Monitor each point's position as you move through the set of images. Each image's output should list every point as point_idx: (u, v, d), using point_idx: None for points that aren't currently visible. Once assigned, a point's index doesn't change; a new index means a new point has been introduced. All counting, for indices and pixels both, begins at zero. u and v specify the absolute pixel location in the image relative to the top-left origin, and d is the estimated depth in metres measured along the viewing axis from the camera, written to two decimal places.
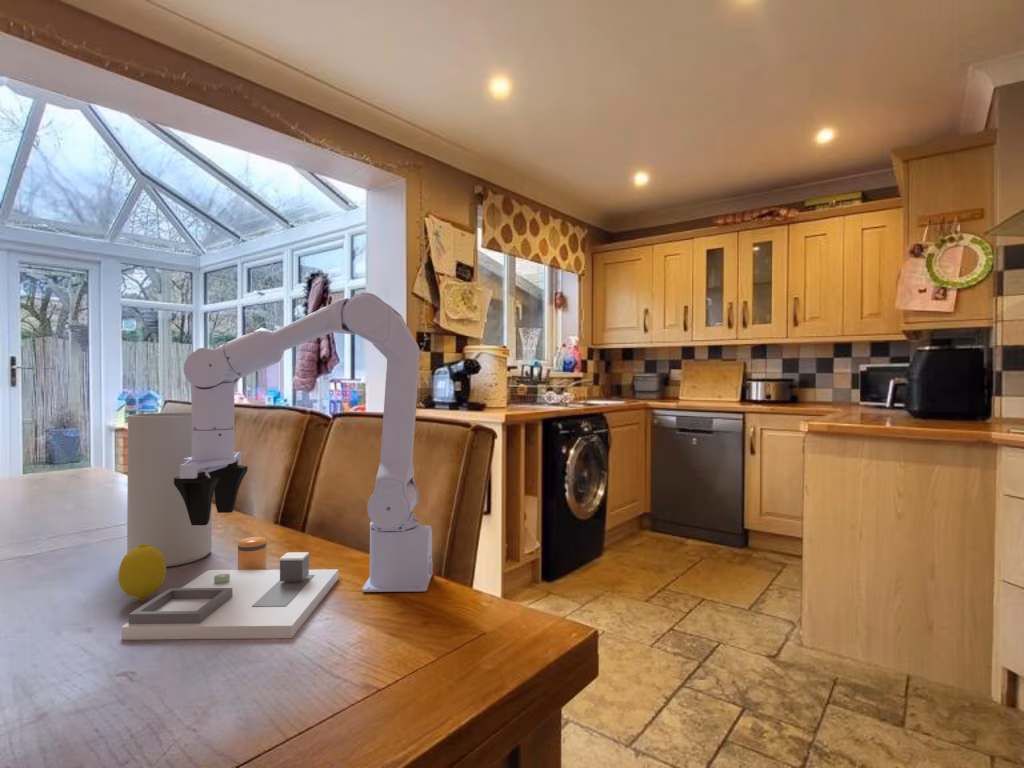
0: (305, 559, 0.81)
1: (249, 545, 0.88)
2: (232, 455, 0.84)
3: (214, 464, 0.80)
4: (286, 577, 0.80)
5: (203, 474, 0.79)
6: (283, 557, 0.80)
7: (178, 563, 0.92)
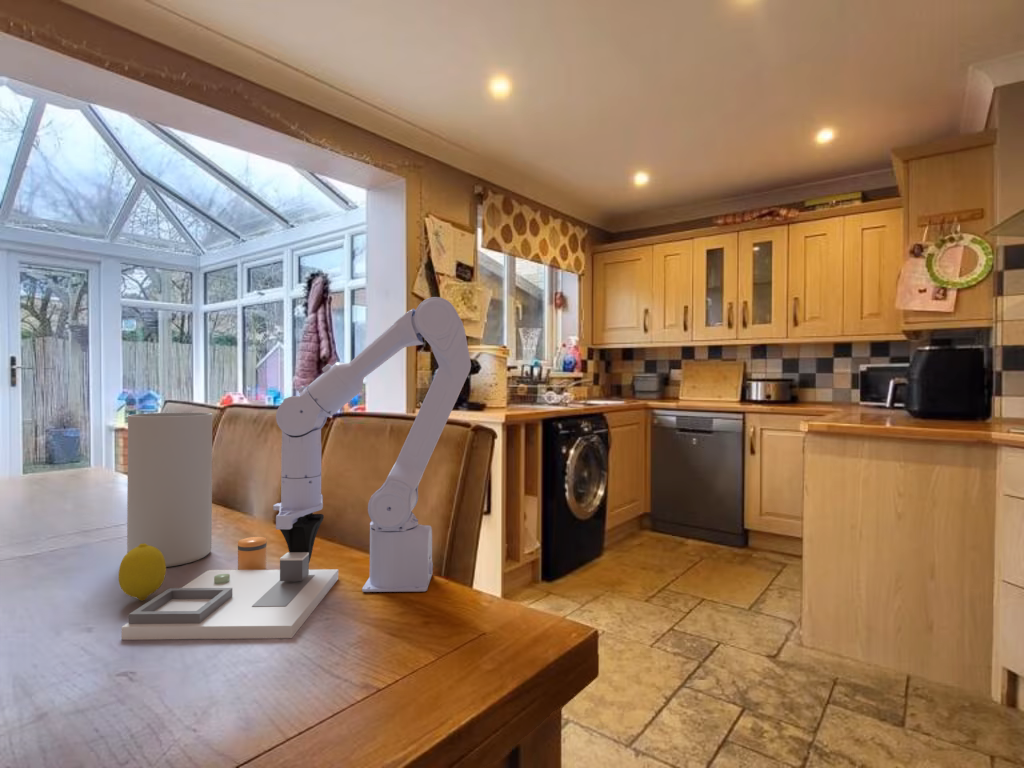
0: (305, 559, 0.81)
1: (249, 545, 0.88)
2: (320, 501, 0.84)
3: (306, 513, 0.80)
4: (286, 577, 0.80)
5: (304, 517, 0.83)
6: (283, 557, 0.80)
7: (178, 563, 0.92)
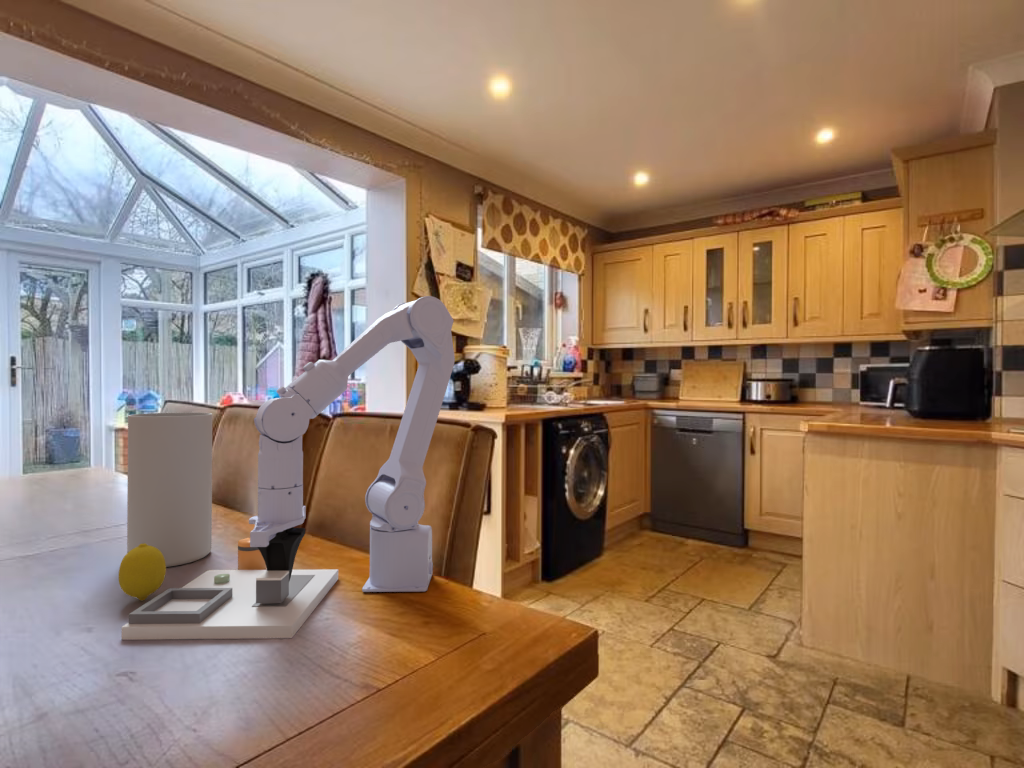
0: (284, 578, 0.73)
1: (249, 545, 0.88)
2: (301, 514, 0.76)
3: (285, 527, 0.72)
4: (263, 599, 0.72)
5: (284, 532, 0.75)
6: (260, 577, 0.72)
7: (178, 563, 0.92)
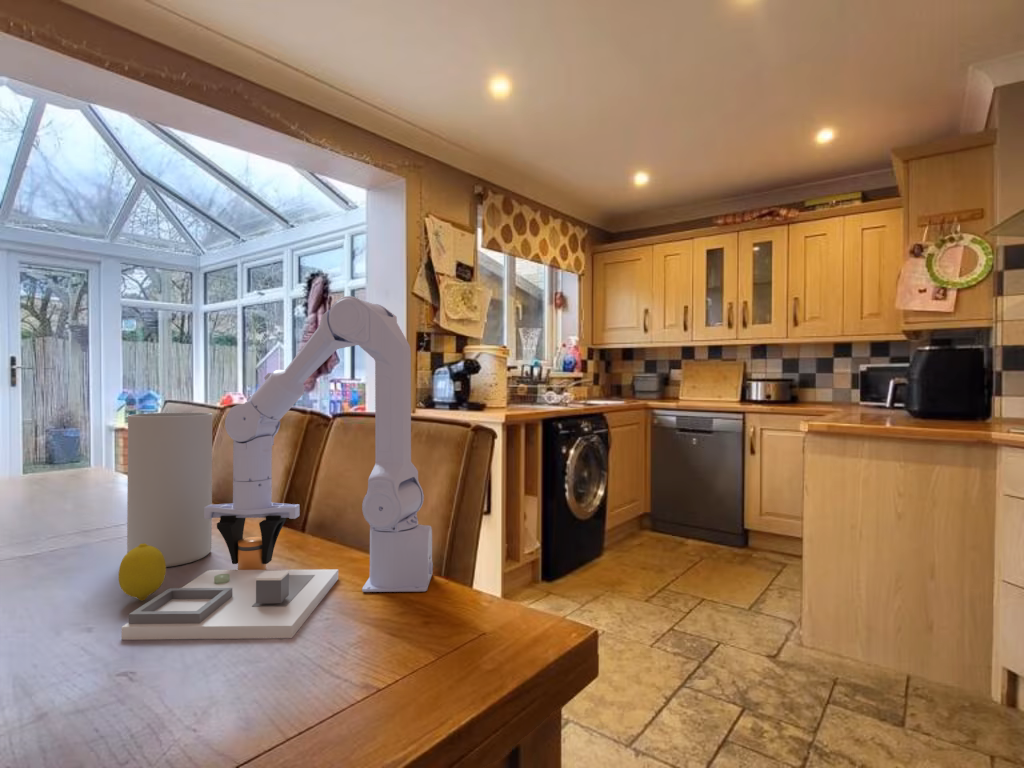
0: (284, 578, 0.73)
1: (249, 545, 0.88)
2: (245, 507, 0.87)
3: (224, 511, 0.88)
4: (263, 599, 0.72)
5: (231, 517, 0.89)
6: (260, 577, 0.72)
7: (178, 563, 0.92)
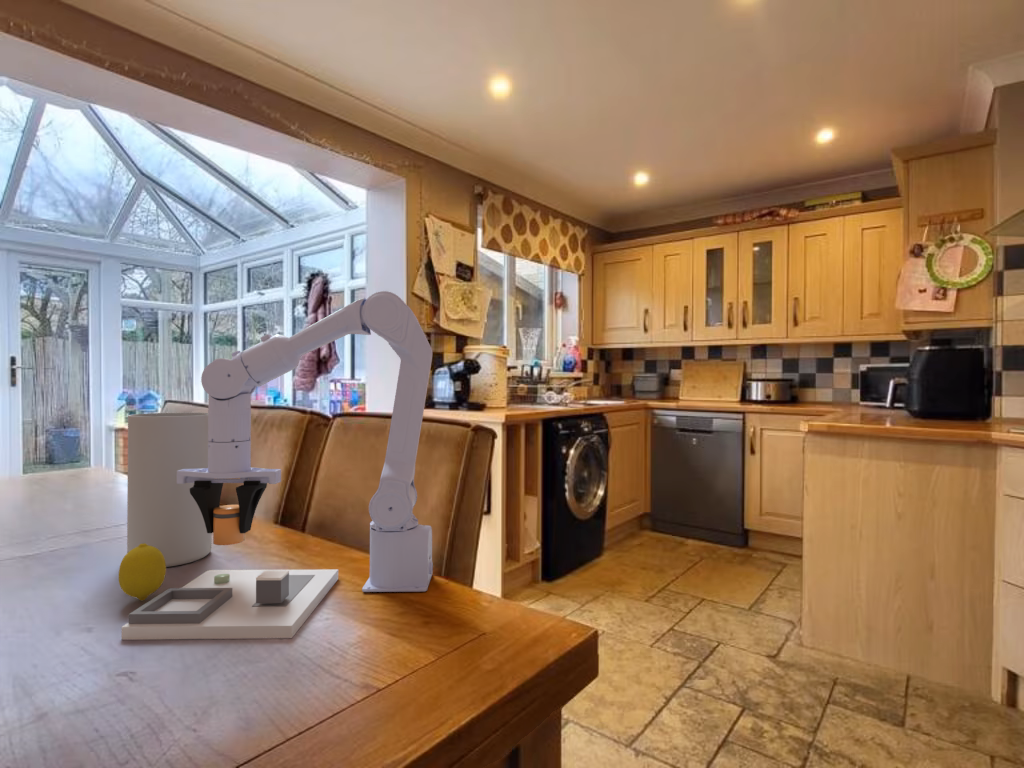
0: (284, 578, 0.73)
1: (225, 512, 0.80)
2: (220, 470, 0.79)
3: (198, 475, 0.80)
4: (263, 599, 0.72)
5: (205, 482, 0.81)
6: (260, 577, 0.72)
7: (178, 563, 0.92)
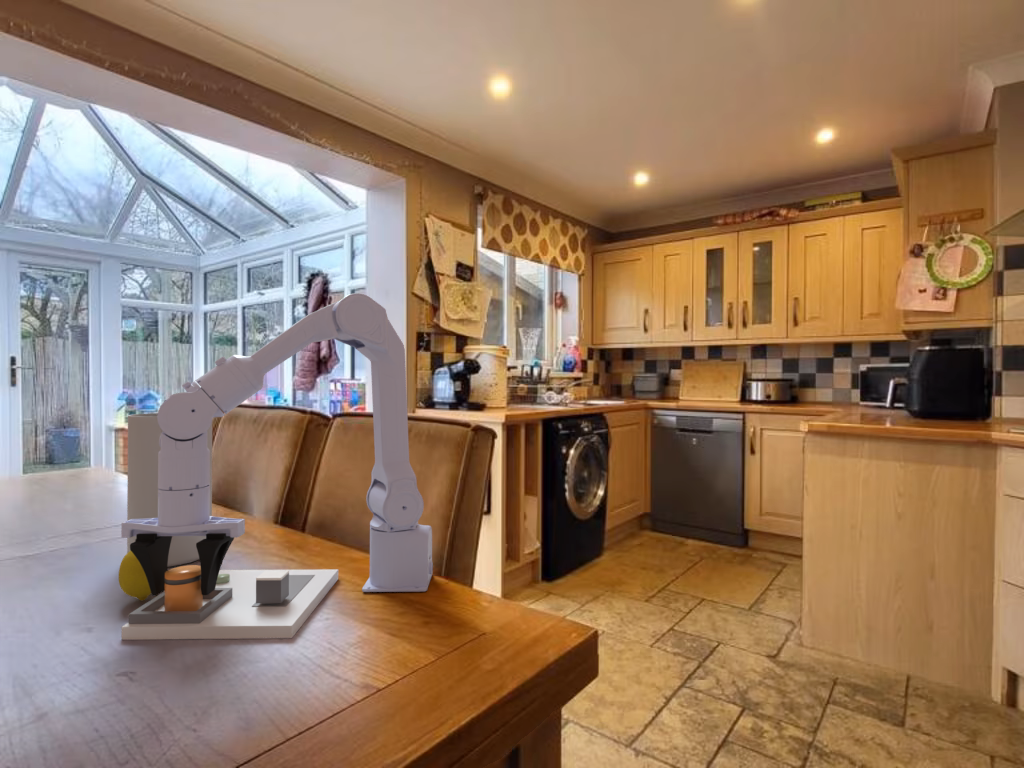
0: (284, 578, 0.73)
1: (178, 577, 0.69)
2: (171, 523, 0.68)
3: (146, 528, 0.69)
4: (263, 599, 0.72)
5: (150, 536, 0.70)
6: (260, 577, 0.72)
7: (178, 563, 0.92)
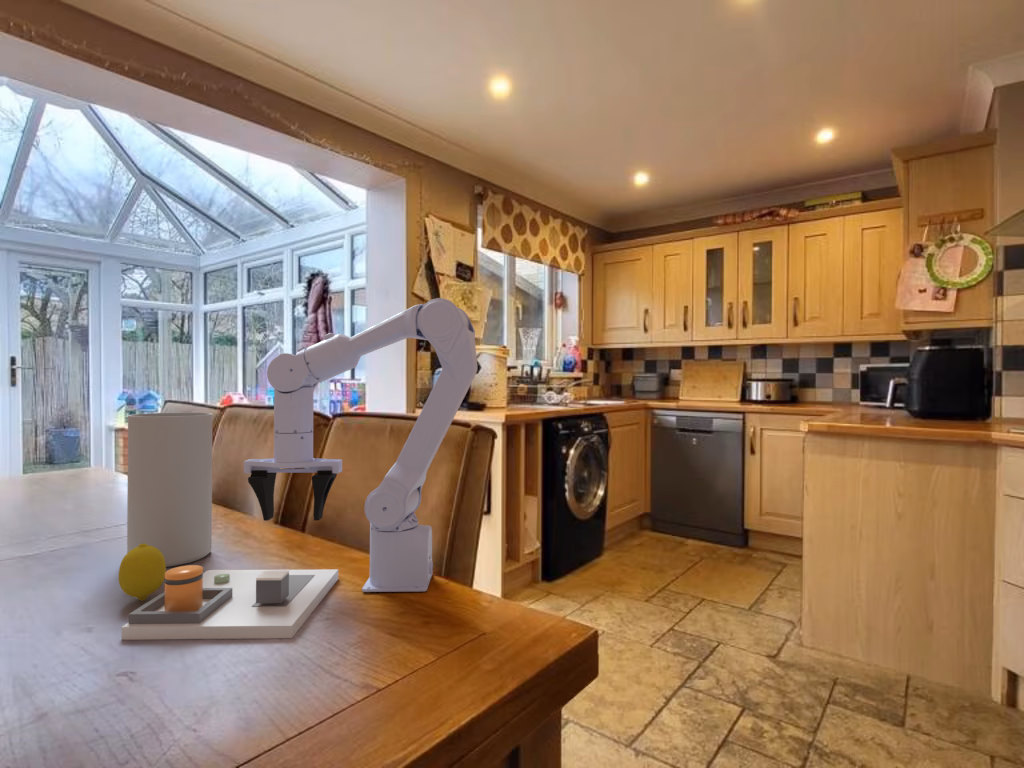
0: (284, 578, 0.73)
1: (178, 578, 0.69)
2: (287, 460, 0.83)
3: (265, 465, 0.84)
4: (263, 599, 0.72)
5: (262, 472, 0.85)
6: (260, 577, 0.72)
7: (178, 563, 0.92)
